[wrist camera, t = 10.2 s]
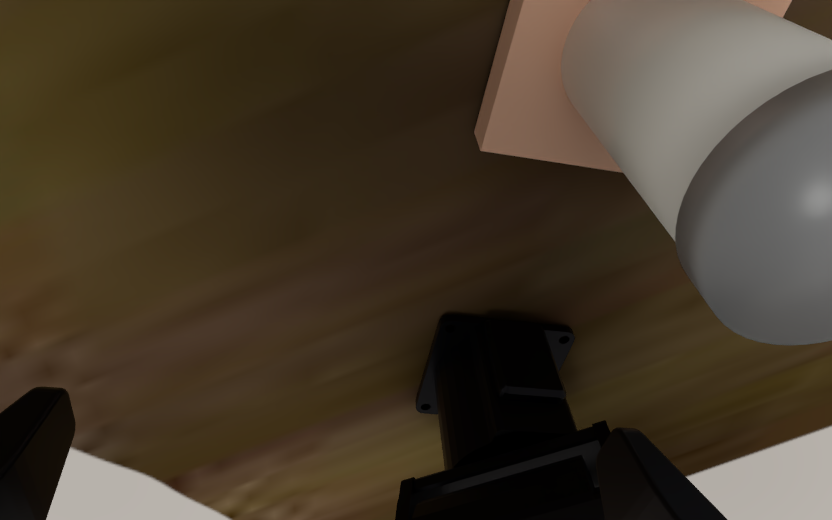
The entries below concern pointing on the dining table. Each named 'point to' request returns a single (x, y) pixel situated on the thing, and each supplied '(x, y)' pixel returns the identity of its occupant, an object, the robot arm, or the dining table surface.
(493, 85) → the tile
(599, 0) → the plug
